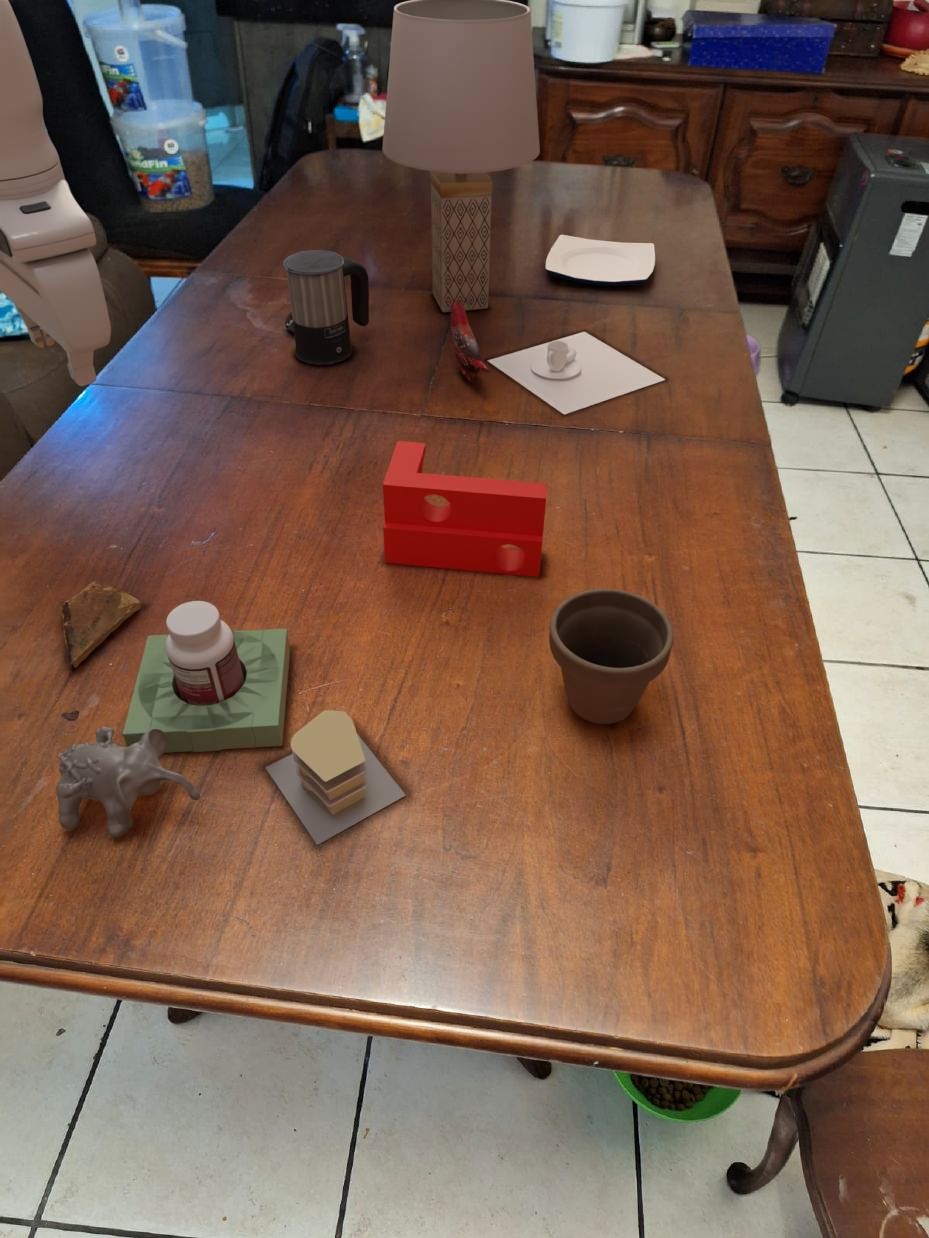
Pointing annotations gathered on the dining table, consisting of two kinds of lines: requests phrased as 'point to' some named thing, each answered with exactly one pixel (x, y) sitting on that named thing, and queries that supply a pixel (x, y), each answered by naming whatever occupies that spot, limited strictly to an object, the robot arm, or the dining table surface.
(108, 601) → the shard
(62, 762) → the gray elephant figurine
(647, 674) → the flower pot
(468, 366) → the decorative bird figurine
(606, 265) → the plate
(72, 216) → the robot arm
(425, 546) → the bracket
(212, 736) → the socket pad
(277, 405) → the dining table surface
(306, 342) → the milk frother
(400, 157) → the lamp
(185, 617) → the pill bottle
